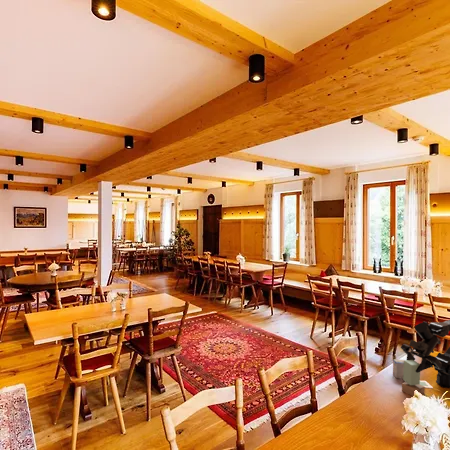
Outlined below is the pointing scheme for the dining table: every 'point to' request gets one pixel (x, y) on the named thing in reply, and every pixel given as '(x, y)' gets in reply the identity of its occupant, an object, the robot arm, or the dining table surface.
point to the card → (425, 384)
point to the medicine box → (398, 368)
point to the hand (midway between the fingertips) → (411, 369)
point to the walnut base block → (412, 388)
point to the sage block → (411, 372)
